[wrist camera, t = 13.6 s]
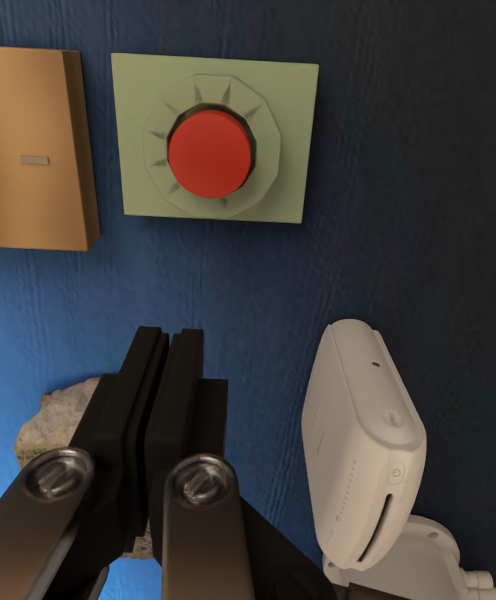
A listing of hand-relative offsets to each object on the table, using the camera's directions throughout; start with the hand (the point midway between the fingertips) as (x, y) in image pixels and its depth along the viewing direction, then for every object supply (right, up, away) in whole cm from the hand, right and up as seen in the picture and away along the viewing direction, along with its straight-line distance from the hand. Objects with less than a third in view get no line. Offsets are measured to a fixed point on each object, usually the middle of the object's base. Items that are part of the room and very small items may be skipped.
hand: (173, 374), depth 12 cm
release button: (0, +9, +10) cm, 14 cm away
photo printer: (+8, -3, +21) cm, 23 cm away
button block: (0, +11, +13) cm, 17 cm away
